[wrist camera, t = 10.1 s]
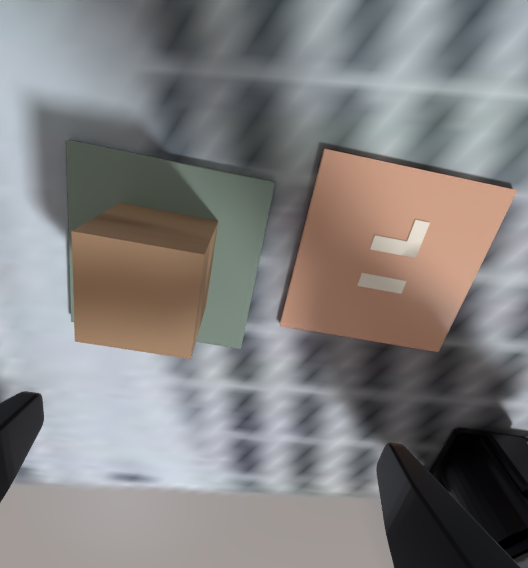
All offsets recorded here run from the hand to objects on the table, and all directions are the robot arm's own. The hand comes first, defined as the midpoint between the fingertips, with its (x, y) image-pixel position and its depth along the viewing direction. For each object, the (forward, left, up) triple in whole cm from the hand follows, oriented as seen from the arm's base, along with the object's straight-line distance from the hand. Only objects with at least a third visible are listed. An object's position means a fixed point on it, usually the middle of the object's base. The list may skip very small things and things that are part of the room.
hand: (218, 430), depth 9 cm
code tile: (+2, -8, -12) cm, 14 cm away
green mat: (0, +4, -12) cm, 12 cm away
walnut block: (0, +4, -11) cm, 12 cm away
